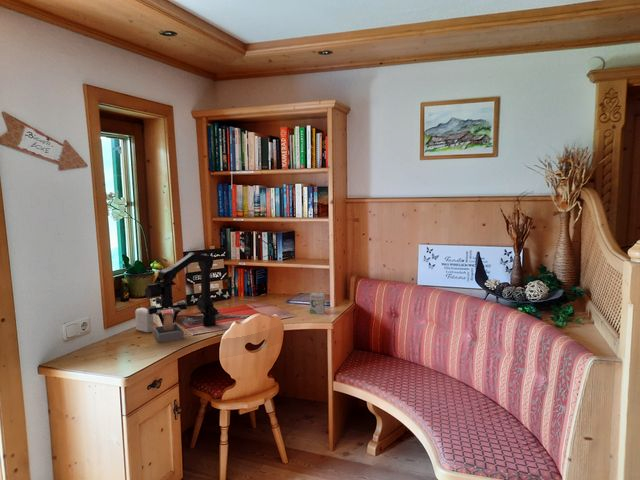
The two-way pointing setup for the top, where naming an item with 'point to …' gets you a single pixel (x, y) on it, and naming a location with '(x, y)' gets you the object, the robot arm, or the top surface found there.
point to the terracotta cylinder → (168, 321)
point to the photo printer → (144, 320)
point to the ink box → (317, 303)
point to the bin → (168, 333)
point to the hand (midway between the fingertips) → (168, 324)
